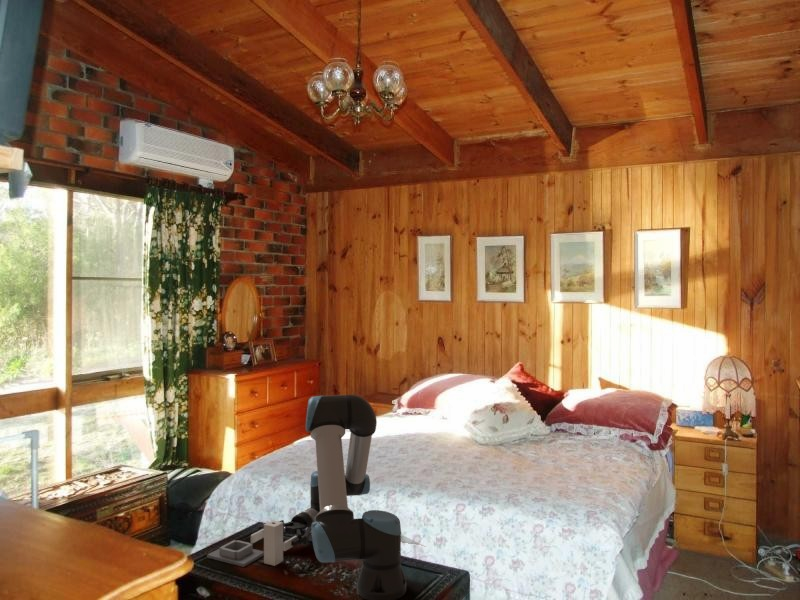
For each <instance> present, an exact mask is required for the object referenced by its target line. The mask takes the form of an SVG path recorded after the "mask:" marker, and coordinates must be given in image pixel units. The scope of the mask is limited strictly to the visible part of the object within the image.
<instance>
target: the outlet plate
mask: <svg viewBox="0 0 800 600" xmlns="http://www.w3.org/2000/svg"><path fill="white" fill-rule="evenodd" d="M253 547H254V543H253V544H252V543H251V542H248V541H243V540H239V539H238V540H235V539H233V540H232V541H229V542H227V543H226V544H223V545H221V546H220V547H219V548H217V549H216V550H214V551H211V552H209V553H208V554H206V558H207V559H210V560H211V559H212V560H214V561H219V562H223V563H226V564H230V565H233V566H234V565H235V566H238V567H241V568H245V567H246V566H249V565H250V564H252V563H254V562H255V561H256V560H259V559H261V558H262V557H264V550H261V549H260V550H259V549H254V548H253Z"/></svg>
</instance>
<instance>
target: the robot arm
mask: <svg viewBox="0 0 800 600" xmlns="http://www.w3.org/2000/svg"><path fill="white" fill-rule="evenodd" d="M306 408H307V410H306V418H305V432H308V433H310V438H311V439H312V440H314V441H315V455H316V469H317V470H315V471H313V472H312V473H311V475H310V507H309V508H307V509H305V510H304V511H301V512H299V513H298V514H296V515H294V516H293V517H292V518H291V520H290V521H288V522H285V521H284V519H282V520H281V519H280V520H279V522H283V535H286V534H289V535H294V536H292V537H290V538H289V539H286V540H285V541H283V552H286V551H288V550H290V549H291V548H293V547H295V546H298V545H301V544H302V543H303V545H307V544H308V542H309V539H310V537H311V541H312V546H313V550H314V554H315V557H316V560H317V561H318V562H320V563H332V564H333V563H337V562H347V561H354V560H355V561H357V560H362V565H361V568H360V573H359V575H358V580H357V581H356V593H357V595H358V596H359V597H361V598H362V599H365V600H398V599H401V598H402V597H404V595H405V594H406V592H407V580H406V577H405V574H404V571H403V567H402V564H401V563H402V561H401V557H402V555H401V553H402V550H401V549H402V547H401V545H402V543H401V539H402V536H401V535H402V528H401V520H400V518H399V517H398V515H396V514H394V513H392V512H389V511H385V510H379V509H370V510H367V511H364V512H363V513H362V515H361V518H360V517H359V518H355V515H354V512H353V510H351V509H350V508H349V507H348V506H349V505H348V497H352V496H362V495H368V494H369V493H370V491H371V479H370V476H369V474H368V473H367V468H368V463H369V456H370V449H371V443H372V437H373V435H374V434H375V432H376V429H377V416H376V413H375V410H374V408H373V406H372V405H371V404H370V402H368V401H367V400H366V399H365V398H363V397H362V396H360V395H357V394H337V395H335V394H334V395H324V394H323V395H322V394H321V395H315V396H310V398H308V400H307V407H306ZM346 430H349V432H350V437H349V444H348V450H347V451H348V452H347V453H348V454H347V459H346V467H345V464H344V453H343V450H344V449H343V444H342V443H343V441H342V438H343V437H344V436H345V434H346ZM262 539H264V524H263V525H259V526H258V531H255V532H254V533H252V534H250V543H251V544H253V545H254V543H257V542H258V541H260V540H262Z"/></svg>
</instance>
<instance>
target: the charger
mask: <svg viewBox="0 0 800 600" xmlns="http://www.w3.org/2000/svg"><path fill="white" fill-rule="evenodd" d="M279 521H280V520H279ZM279 521H278V520H273V519H272V520H270V521H268V522H266V523H264V524H263V525H264V538H263V551H264V556H263V563H264V564H266V565H270V566H274V567H276V566H277V565H279V564H281V563H282V562H283V561H284V551H283V542H284V534H283V522H279Z"/></svg>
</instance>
